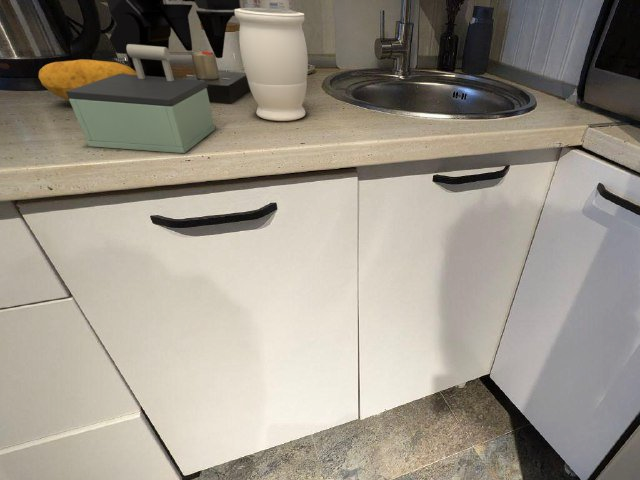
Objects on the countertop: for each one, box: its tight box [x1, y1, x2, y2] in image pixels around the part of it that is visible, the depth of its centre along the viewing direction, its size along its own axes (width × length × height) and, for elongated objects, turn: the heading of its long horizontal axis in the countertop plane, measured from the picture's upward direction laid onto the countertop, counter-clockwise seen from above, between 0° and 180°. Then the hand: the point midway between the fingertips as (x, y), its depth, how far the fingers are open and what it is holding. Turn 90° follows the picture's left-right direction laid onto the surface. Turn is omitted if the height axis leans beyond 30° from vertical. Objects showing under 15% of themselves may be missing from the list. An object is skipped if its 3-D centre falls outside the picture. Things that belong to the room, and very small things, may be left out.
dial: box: [190, 50, 219, 80], centre depth 74 cm, size 4×4×4 cm
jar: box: [234, 7, 309, 122], centre depth 65 cm, size 11×10×15 cm
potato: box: [38, 58, 137, 101], centre depth 65 cm, size 8×14×7 cm, turn 108°
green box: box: [68, 88, 216, 154], centre depth 55 cm, size 11×13×6 cm
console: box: [184, 70, 251, 104], centre depth 77 cm, size 12×10×3 cm
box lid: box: [66, 44, 208, 106], centre depth 52 cm, size 12×13×5 cm
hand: (204, 54), depth 73 cm, fingers open, 9 cm apart
